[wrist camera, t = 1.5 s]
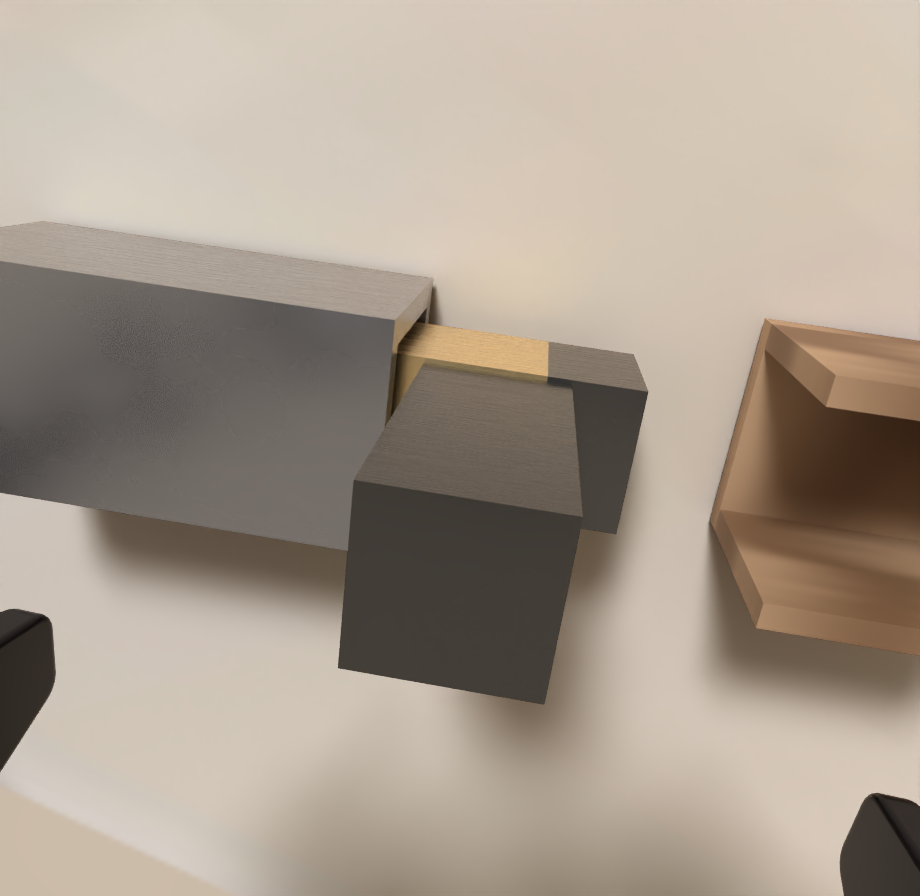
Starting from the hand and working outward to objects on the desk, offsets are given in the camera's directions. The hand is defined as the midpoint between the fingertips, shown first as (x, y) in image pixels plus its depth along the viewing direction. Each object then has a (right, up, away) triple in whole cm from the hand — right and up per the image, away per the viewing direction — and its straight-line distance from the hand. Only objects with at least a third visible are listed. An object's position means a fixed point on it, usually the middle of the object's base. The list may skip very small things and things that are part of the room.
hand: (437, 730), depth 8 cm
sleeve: (-6, +6, +12) cm, 14 cm away
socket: (+10, +3, +11) cm, 15 cm away
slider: (-3, +5, +11) cm, 12 cm away
